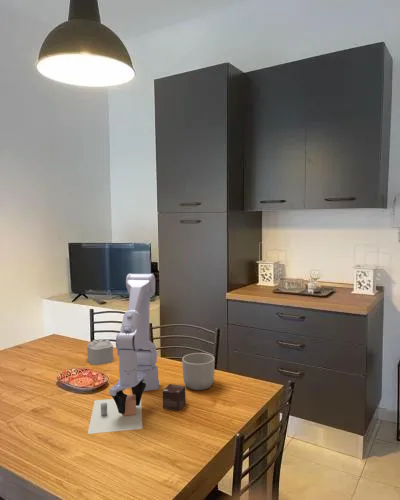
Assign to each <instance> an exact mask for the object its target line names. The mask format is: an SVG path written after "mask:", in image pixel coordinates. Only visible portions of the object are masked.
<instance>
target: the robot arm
mask: <svg viewBox="0 0 400 500" xmlns="http://www.w3.org/2000/svg"><path fill="white" fill-rule="evenodd" d="M125 286H126V289H127V292H128V294H129V297H128V298H129V300H128V308H127V311H125V312H124V314H123V317H122V322H121V327H120V330H119V333H117V334H116V336H115V348H116V354H117V357H118V371H119V373H118V374H119V379H117V380H118V382H117V383H116V384H114V385H113V386H112V387H111V388H109V395H110V396H111V397H112V399H114V401H115V403H116V405H117V408H118V412H119V413H120V414H125V402H126V398H127V395H128V394H126V393H125V392H124V391H125V390H128V389H131V392H132V395H133V394H136V405H137V406H139V405H140V401H141V402H142V397H143V396H142V395H143V393H144V392H148V391H155V390H156V391H157V390H160V388H159V387H160V380H159V366H158V365H157V362H158V361H157V360H158V354H157V347H156V345H155V344H154V342H152V341H151V340H150V301H151V298H152V297H153V296H155V294H156V277H155V275H154V273H130V272H129V273H128V274H127V275H126V279H125Z"/></svg>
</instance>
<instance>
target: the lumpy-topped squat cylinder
mask: <svg viewBox="0 0 400 500" xmlns="http://www.w3.org/2000/svg"><path fill="white" fill-rule="evenodd" d="M86 347H87V348H86V350H87V351H86V353H87V354H86V355H87V362H88V363H89V364H90V365H93V366H100V365H104V364H109V363H113V362H114V345H113V344H112V342H111V340H109V339H105V340H103V339H102V338H98V339H97V340H96V339H93V340H91V342H88V344H87V345H86Z"/></svg>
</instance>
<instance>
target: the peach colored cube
mask: <svg viewBox="0 0 400 500" xmlns="http://www.w3.org/2000/svg"><path fill="white" fill-rule="evenodd" d="M126 395H127V398H126V402H125V414H122V416H126V415H136V394H133V393H132V394H126Z"/></svg>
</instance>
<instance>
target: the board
mask: <svg viewBox="0 0 400 500" xmlns="http://www.w3.org/2000/svg"><path fill="white" fill-rule="evenodd" d="M142 410H143V409H142V400H141V401H140V405H139V406H137V405H136V415H126V416H122V414H120V413H119V412H118V408H117V405H116V403H115V401H114V399H113V398H110V399H108V398H107V399H96V400H94V403H93V408H92V411H91V416H90V420H89V426H88V431H87V435H91V434H102V433H112V432H124V431H133V430H142V429H143V413H142V412H143V411H142Z"/></svg>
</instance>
